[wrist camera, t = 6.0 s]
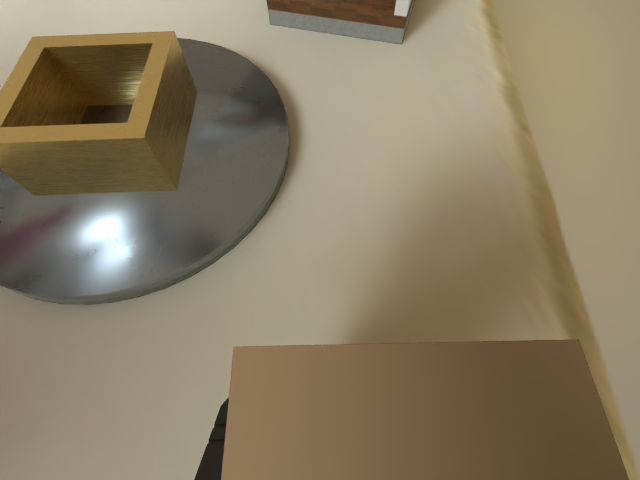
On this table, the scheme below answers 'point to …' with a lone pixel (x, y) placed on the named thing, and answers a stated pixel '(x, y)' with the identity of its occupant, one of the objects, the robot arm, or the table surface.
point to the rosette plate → (131, 163)
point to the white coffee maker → (345, 17)
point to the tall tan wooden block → (417, 413)
